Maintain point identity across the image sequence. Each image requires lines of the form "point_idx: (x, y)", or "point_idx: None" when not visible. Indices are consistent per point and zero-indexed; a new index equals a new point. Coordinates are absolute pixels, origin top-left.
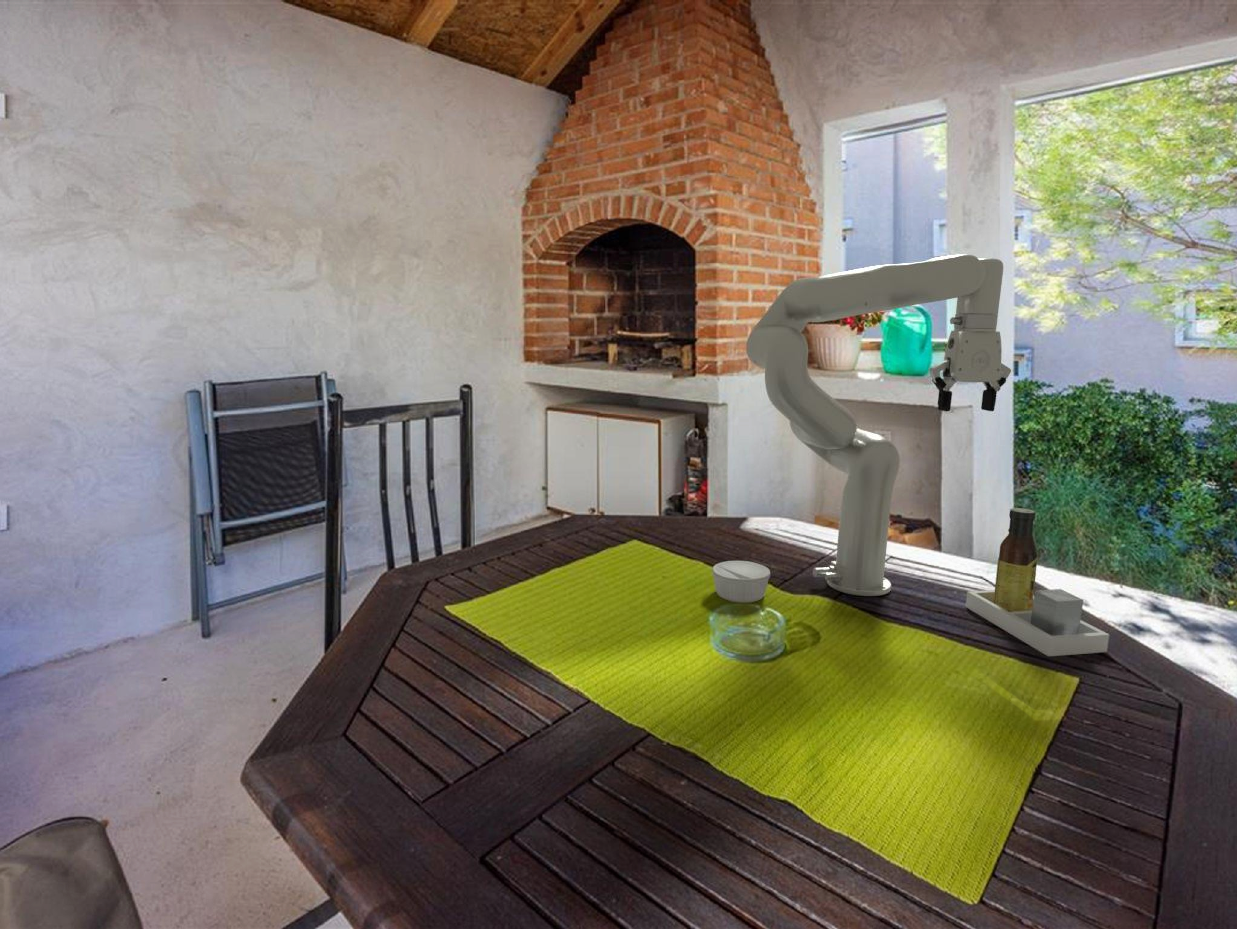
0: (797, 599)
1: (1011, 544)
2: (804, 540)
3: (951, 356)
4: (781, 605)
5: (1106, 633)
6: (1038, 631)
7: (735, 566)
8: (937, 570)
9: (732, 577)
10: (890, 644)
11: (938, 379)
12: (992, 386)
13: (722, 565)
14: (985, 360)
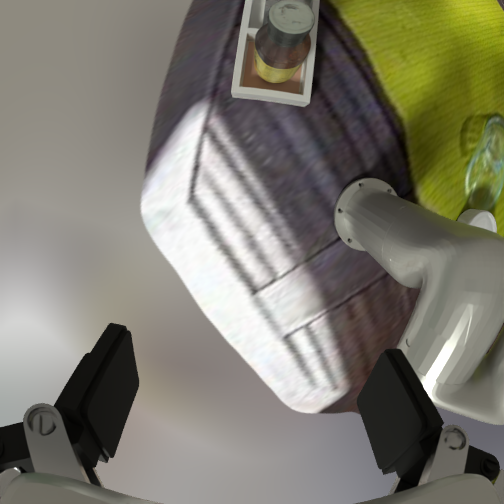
0: (440, 201)
1: (308, 33)
2: (314, 356)
3: None
4: (457, 193)
5: None
6: (318, 3)
7: None
8: (230, 235)
9: (489, 227)
10: (425, 83)
11: (495, 466)
12: (74, 450)
13: None
14: None
